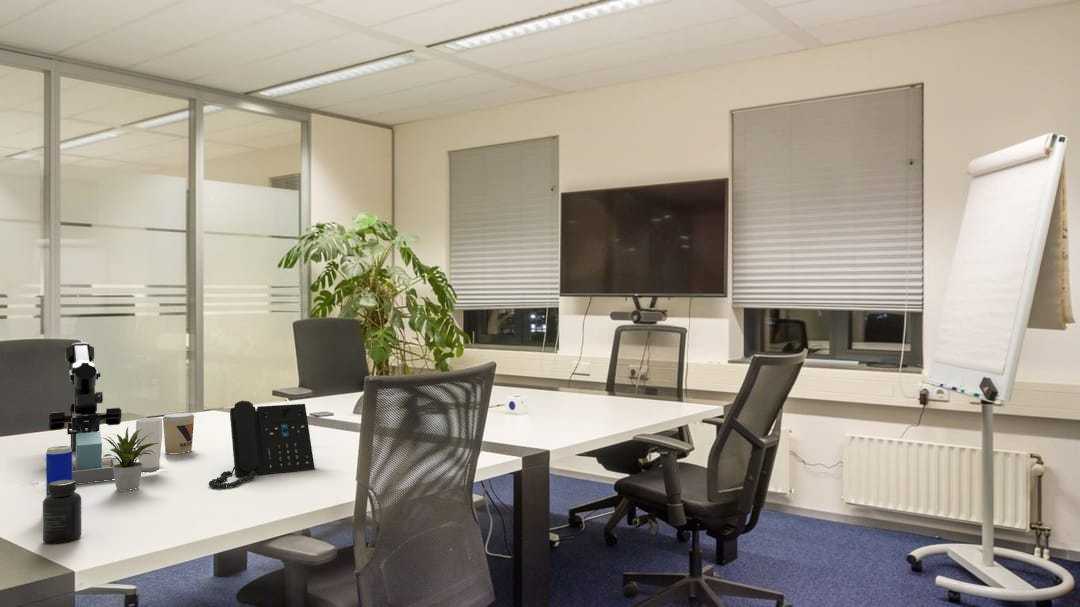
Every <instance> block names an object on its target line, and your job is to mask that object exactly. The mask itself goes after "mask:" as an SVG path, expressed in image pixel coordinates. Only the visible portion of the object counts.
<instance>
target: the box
mask: <svg viewBox="0 0 1080 607" xmlns="http://www.w3.org/2000/svg"><path fill="white" fill-rule="evenodd" d="M114 458H115V457H111V465H110V467H109V466H108V467H101V468H96V469H87V470H78V471H77V470H72V480H74V481H76V485H80V484H79V483H85V484H89V483H88V482H93V483H96V482H95V481H102V482H105V481H104V480H110V481H113V480H112V479H115V478H114V473H113V468H112V466H113V465H116V464H119V462H118V460H117V459H114Z"/></svg>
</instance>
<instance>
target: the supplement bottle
mask: <svg viewBox="0 0 1080 607" xmlns="http://www.w3.org/2000/svg"><path fill="white" fill-rule="evenodd" d="M76 486H77V484H76V481H74V480H60V481H55V482H51V483H49V485H48V493H50V495H49V496H47V497H45V498H44V500H43V501H42V541H43V543H44V544H46V545H63V544H68V543H71V542H74V541H77V540H79V539H80V538H81V537H82V529H83V528H82V496H81V495H80V494H79V493H78V492H75V491H76V490H77V487H76Z"/></svg>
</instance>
